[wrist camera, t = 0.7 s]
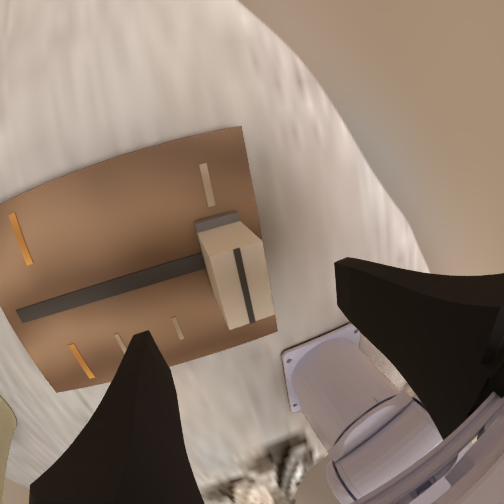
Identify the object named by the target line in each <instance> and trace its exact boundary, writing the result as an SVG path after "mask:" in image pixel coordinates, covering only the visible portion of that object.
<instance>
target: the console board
mask: <svg viewBox="0 0 504 504" xmlns="http://www.w3.org/2000/svg"><path fill="white" fill-rule="evenodd" d="M235 210H236V211H238V213H239V218H240V221H241V222H242V223H243V224H244V225H245V226H246V227H247V228H248V229H250V230H251V231H252V232H253V233H254V234H255V235H256V236H257V237H258V238H259V239H261V240H262V236H261V231H260V225H259V219H258V214H257V208H256V203H255V197H254V191H253V186H252V180H251V175H250V170H249V164H248V159H247V153H246V148H245V142H244V137H243V132H242V126H238V127H233V128H228V129H223V130H218V131H213V132H208V133H204V134H199V135H195V136H190V137H186V138H182V139H178V140H174V141H170V142H166V143H163V144H159V145H155V146H152V147H148V148H145V149H141V150H138V151H134V152H131V153H128V154H125V155H121V156H118V157H115V158H112V159H109V160H106V161H103V162H100V163H97V164H94V165H92V166H89V167H86V168H83V169H81V170H78V171H75V172H73V173H70V174H67V175H65V176H62V177H60V178H57V179H55V180H53V181H50V182H48V183H45V184H43V185H41V186H38V187H36V188H34V189H32V190H29V191H27V192H25V193H23V194H21V195H19V196H16V197H14V198H12V199H10V200H8V201H6V202H4V203H2V204H0V306H1V308H2V310H3V312H4V314H5V316H6V317H7V319H8V321H9V323H10V325H11V326H12V328H13V330H14V331H15V333H16V335H17V336H18V338H19V340H20V341H21V343H22V345H23V346H24V348H25V349H26V351H27V352H28V354H29V355H30V357H31V358H32V360H33V361H34V363H35V364H36V366H37V367H38V368H39V370H40V371H41V373H42V374H43V375H44V377H45V378H46V380H47V381H48V382H49V384H50V385H51V386H52V387H53V389H54V390H55V391H56V393H58V392H63V391H68V390H74V389H79V388H84V387H89V386H93V385H98V384H102V383H107V382H111V381H112V380H113V378H114V376H115V374H116V372H117V370H118V367H119V365H120V363H121V361H122V359H123V356H124V354H125V352H126V350H127V348H128V345H129V343H130V341H131V339H132V337H133V335H135V334H138V333H141V332H144V331H147V330H149V331H150V333H151V335H152V337H153V339H154V341H155V343H156V344H157V346H158V348H159V350H160V352H161V354H162V355H163V357H164V359H165V361H166V363H167V364H168V366H169V367H170V366H173V365H177V364H180V363H184V362H187V361H190V360H194V359H197V358H200V357H204V356H207V355H210V354H213V353H216V352H219V351H222V350H226V349H229V348H232V347H235V346H238V345H240V344H243V343H246V342H249V341H252V340H255V339H258V338H261V337H263V336H266V335H269V334H272V333H274V332H277V331H278V330H277V324H276V318H275V315H272V316H269V317H266V318H264V319H261V320H258V321H256V322H255V323H252V324H250V323H249V324H246V325H243V326H240V327H237V328H234V329H231V330H229V328H228V326H227V324H226V321H225V319H224V317H223V315H222V312H221V310H220V308H219V305H218V303H216V301H215V298H214V295H213V291H212V288H211V284H210V281H209V277H208V273H207V270H206V266H205V262H204V259H203V255H202V251H201V247H200V244H199V240H198V236H197V232H196V228H195V224H194V222H195V221H198V220H202V219H206V218H209V217H213V216H216V215H220V214H224V213H227V212H231V211H235Z"/></svg>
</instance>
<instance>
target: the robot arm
mask: <svg viewBox="0 0 504 504" xmlns="http://www.w3.org/2000/svg"><path fill="white" fill-rule="evenodd" d="M334 266H335V278H336V291H337V305H338V307H339V308H340V309H341V311H342V312H343V313H344V315H345V316H346V317H347V319H348V320H349V321H350V322H351V323H350V324H348V325H346V326H343V327H341V328H339V329H337V330H335V331H332V332H330V333H328V334H325V335H323V336H321V337H318V338H316V339H314V340H311V341H309V342H306V343H304V344H302V345H299V346H297V347H294V348H292V349H289V350H286V351H285V352H284V353H283V354H282V361H283V368H284V374H285V380H286V386H287V392H288V399H289V405H290V410H291V412H292V413H295V412H298V411H300V410H301V411H302V413H303V414H304V416H305V417H306V419H307V421H308V422H309V424H310V425H311V427H312V429H313V430H314V432H315V433H316V435H317V437H318V438H319V440H320V441H321V443H322V444H323V446H324V447H325V448H326V449H327V450H328V451H327V452H328V453H329V455H330V456H331V458H332V461H330V462H329V463H328V464H327V470H326V479H327V482H328V485H329V487H330V489H331V490H332V492H333V494H334V495H335V497H336V498H337V499H338V501H339V502H340V503H341V504H504V273H502V274H495V275H483V276H449V275H438V274H429V273H422V272H416V271H411V270H406V269H401V268H396V267H392V266H387V265H383V264H379V263H374V262H370V261H366V260H361V259H356V258H349V257H347V258H344V259H342V260H339V261H337V262H334ZM360 332H361V333H362V334H363V335H364V336H365V337H366V338H367V339H368V340H369V341H370V342H371V343H372V344H373V345H374V346H375V347H376V348H377V349H378V350H380V351H381V352H382V353H383V354H384V355H385V356H386V357H387V358H388V359H389V360H390V362H391V363H392V364H393V365H394V366H395V367H396V369H397V370H398V371H399V372H400V374H401V375H402V376H403V377H404V379H405V380H406V381H407V383H408V384H409V385H410V387H411V388H412V389H413V391H414V392H415V394H414V395H413V396H412V398H411V397H410V396H409V395H408V394H407V393H406V392H405V390H403V391H400V390H399V389H398V388H397V387H396V386H395V385H394V384H393V383H392V382H391V381H390V380H389V379H388V378H387V377H386V376H385V375H384V374H383V373H382V372H381V371H380V370H379V369H378V368H377V367H376V366H375V365H374V364H373V363H372V362H371V361H370V360H369V359H368V358H367V357H366V355H365V354H364V353H363V352H362V351H361V350H360V349H359V340H360ZM288 359H289V360H288ZM477 435H478V436H477ZM476 436H477V441H476V442H475V443H474V444H472V442H471V441H472V440H473V439H474V438H475V437H476ZM29 496H30V497H29V504H204V501H203V499H202V496H201V494H200V491H199V489H198V486H197V483H196V481H195V478H194V475H193V472H192V469H191V466H190V463H189V460H188V456H187V453H186V449H185V444H184V439H183V433H182V427H181V420H180V413H179V407H178V400H177V393H176V389H175V385H174V381H173V378H172V374H171V370H170V368H169V366H168V364H167V363H166V361H165V359H164V357H163V355H162V354H161V352H160V350H159V348H158V346H157V344H156V343H155V341H154V339H153V337H152V335H151V333H150V331H149V330H147V331H144V332H141V333H138V334H135V335H133V337H132V339H131V341H130V343H129V345H128V348H127V350H126V352H125V354H124V356H123V359H122V361H121V363H120V365H119V367H118V370H117V372H116V374H115V376H114V378H113V380H112V382H111V384H110V386H109V388H108V390H107V392H106V393H105V395H104V397H103V399H102V401H101V403H100V404H99V406H98V408H97V409H96V411H95V412H94V414H93V415H92V417H91V419H90V420H89V422H88V423H87V424H86V426H85V427H84V428H83V430H82V431H81V432H80V434H79V435H78V436H77V438H76V439H75V440H74V442H73V443H72V444H71V445H70V447H69V448H68V449H67V450H66V451H65V452H64V453H63V455H62V456H61V457H60V458H59V459H58V460H57V461H56V462H55V463H54V464H53V465H52V466H51V467H50V468H49V469H48V470H47V471H46V472H44V473H43V474H42V475H41V476H40V477H39V478H38V479H37V480H35V481H34V482H33V483H32V484H31V485H30V495H29Z"/></svg>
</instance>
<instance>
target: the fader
mask: <svg viewBox="0 0 504 504" xmlns="http://www.w3.org/2000/svg"><path fill="white" fill-rule="evenodd" d="M194 224H195V228H196V232H197V236H198V240H199V244H200V247H201V251H202V255H203V259H204V262H205V266H206V270H207V273H208V277H209V281H210V284H211V288H212V291H213V295H214V298H215V301H216V303H218V305H219V308H220V310H221V312H222V315H223V317H224V319H225V321H226V324H227V326H228V328H229V330H231V329H234V328H237V327H240V326H243V325H246V324H249V323H250V324H252V323H255V322H256V321H258V320H261V319H264V318H266V317H269V316H272V315H275V311H274V305H273V300H272V294H271V288H270V282H269V276H268V270H267V264H266V259H265V253H264V247H263V242H262V240H261V239H259V238H258V237H257V236H256V235H255V234H254V233H253V232H252V231H251V230H250V229H248V228H247V227H246V226H245V225H244V224H243V223H242V222H241V221H240V218H239V213H238V211H236V210H235V211H231V212H227V213H224V214H220V215H216V216H213V217H209V218H206V219H202V220H198V221H195V222H194Z"/></svg>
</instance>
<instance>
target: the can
mask: <svg viewBox="0 0 504 504" xmlns="http://www.w3.org/2000/svg"><path fill="white" fill-rule="evenodd" d="M16 426H17V422H16V418H15V415H14V413H13V411H12V410H11V408H10V407H9V405H8V404H7V403H6V402H5V400H4V399H3V398H2V397H1V396H0V504H2V498H3V487H4V479H5V472H6V466H7V460H8V455H9V450H10V445H11V440H12V436H13V433H14V430H15V429H16Z"/></svg>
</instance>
